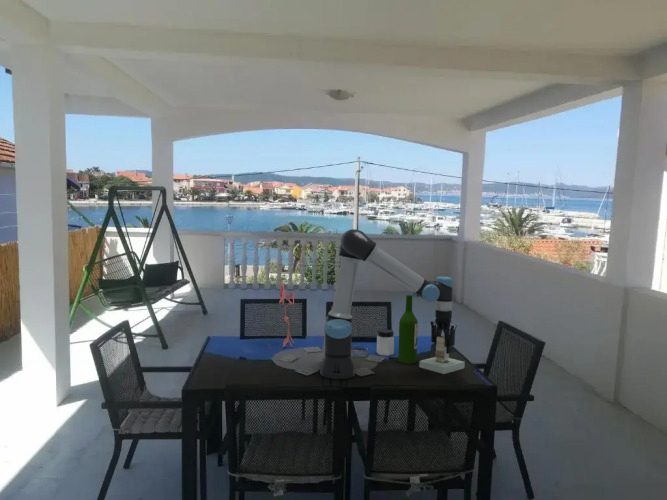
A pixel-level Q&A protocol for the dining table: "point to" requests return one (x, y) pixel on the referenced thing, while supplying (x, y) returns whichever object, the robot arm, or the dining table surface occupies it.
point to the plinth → (442, 365)
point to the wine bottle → (408, 335)
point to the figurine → (283, 295)
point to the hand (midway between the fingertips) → (442, 358)
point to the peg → (440, 349)
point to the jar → (385, 342)
